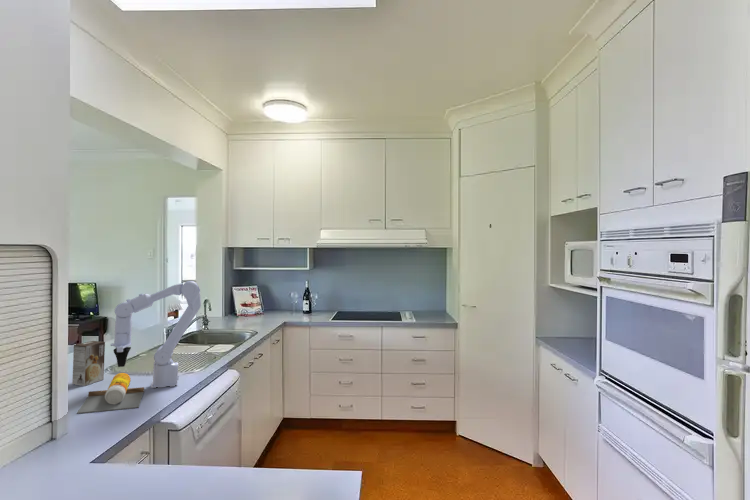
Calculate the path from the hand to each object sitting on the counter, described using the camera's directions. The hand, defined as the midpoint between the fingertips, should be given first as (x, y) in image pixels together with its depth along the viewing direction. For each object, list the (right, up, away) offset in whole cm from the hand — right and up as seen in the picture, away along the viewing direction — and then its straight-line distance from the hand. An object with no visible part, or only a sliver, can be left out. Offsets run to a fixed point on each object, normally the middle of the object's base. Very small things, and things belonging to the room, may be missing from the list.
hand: (121, 366), depth 165 cm
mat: (+7, -8, -16) cm, 20 cm away
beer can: (+3, -4, -5) cm, 7 cm away
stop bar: (+3, -8, -8) cm, 12 cm away
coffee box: (-17, -8, +5) cm, 19 cm away
